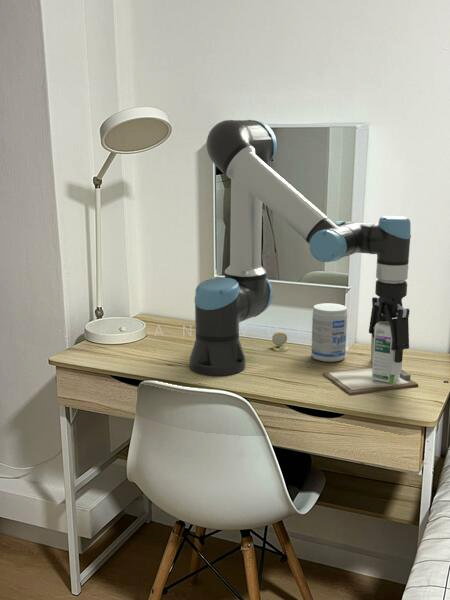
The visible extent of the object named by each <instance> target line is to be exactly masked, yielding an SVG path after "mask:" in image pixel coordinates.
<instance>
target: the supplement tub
mask: <svg viewBox="0 0 450 600" xmlns="http://www.w3.org/2000/svg"><path fill="white" fill-rule="evenodd" d="M347 322H348V309H347V306H346V305H344V304H340V303H332V302H331V303H329V302H328V303H327V302H326V303H324V302H322V303H318V304H317V303H316V304H315V305H314V306H313V309H312V322H311V323H312V325H311V326H312V327H311V351H310V352H311V357H312V358H313V359H315V360H317V361H320V362H327V363H328V362H329V363H330V362H332V363H335V362H339V361H342V360H344V359H345V357H346V350H347V349H346V347H347V346H346V345H347V343H346V341H347V329H348V327H347V326H348V323H347Z"/></svg>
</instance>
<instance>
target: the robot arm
mask: <svg viewBox="0 0 450 600" xmlns="http://www.w3.org/2000/svg"><path fill="white" fill-rule="evenodd" d="M277 147H278V145H277V137H276V134H275V132H274V130H273V129H272V128H271V127H270V126H269V125H268V124H266V123H264V122H262V121H259V120H255V119H253V120H252V119H245V120H243V119H240V120H239V119H238V120H237V119H236V120H234V119H226V120H222V121H220V122H218V123H217V124H215V125H214V126H213V127H212V128H211V130H210V131H209V132H208V135H207V138H206V152H207V154H208V157H209V158H210V161H211V162H212V163H213V164H214V165H215V167H216V168H217V169H219V170H220V172H222V174H224V175H225V176H226V177H228V179H230V181H231V182H230V235H229V236H230V239H229V240H230V241H229V242H230V243H229V244H230V247H229V248H230V249H229V252H230V253H229V255H230V257H229V266H228V267H227V268H225V269H224V277H215V278H209V279H206V280H204V281H201V282H200V283H198V285H196V288H195V293H194V295H195V296H194V308H195V310H194V312H195V313H194V314H195V315H194V318H195V320H194V321H195V340H194V344H193V347H192V349H191V353H190V355H189V369H190V370H191V371H193V372H194V373H197V374H201V375H205V376H206V375H207V376H228V375H233V374H235V375H236V374H238V373H240V372H242V371H243V370H245V368H246V357H245V354H244V350H243V347H242V344H241V341H240V323H241V322H244V321H247V320H248V319H251V318H255V317H257V316H259V315H261V314H262V313H264V312H265V311H266V310H267V309H268V308H269V307H270V305H271V304H272V301H273V297H274V290H273V285H272V284H271V282H270V281H269V279H268V278H267V270H266V269H265V268H264V267H263V266H262V231H263V230H262V229H263V224H262V223H263V204H264V205H265V206H266V207H267V208H268V209H270V210H271V211H272V213H274V214H275V215H276V216H277V217H279V219H281V221H283V222H284V223H285V224H286V225H288V227H289V228H291V230H292V231H294V232H296V234H297V235H299V236H300V237H301V239H303V240H305V242H307V244H308V245H309V247H308V248H309V250H310V254H311V255H312V257H313V258H314V259H316V260H317V261H319V262H321V263H330V262H337V261H339V260H341V259H342V258H345V257H348V256H351V255H354V254H356V253H357V254H369V255H377V256H376V258H377V259H376V272H375V278H376V279H377V280H375V295H376V296H374V297H372V299H371V302H372V303H371V306H372V307H371V313H370V314H371V315H370V318H369V319H370V321H369V328H368V333H369V334H370V335H371V338H372V337H373V338H374V331H375V325H376V324H377V323H378V322H379V321H388V322H389V323H390V328H391V334H392V341H393V347H394V348H391V362H390V374H391V375H395V374H401V369H402V366H403V365H402V364H403V355H404V354H403V353H404V350H408V349H410V335H409V334H410V333H409V332H410V330H409V329H410V328H409V317H410V308H404V307H403V302H402V301H403V298H405V297H406V296H407V293H408V282H407V279H408V277H409V275H408V273H409V261H410V260H409V258H410V246H411V238H412V235H411V231H412V230H411V220H410V218H409V217H406V216H403V215H402V216H401V215H383V216H380V218H379V219H378V223H377V222H376V223H371V222H370V223H369V222H361V221H352V220H337V221H336V222H333V221H332V220H331V219H330V218H328V216H326V215H325V214H324V213H323V212H322V211H321V210H320V209H319V208H318V207H316V206H315V205H314V204H313V203H312V202H311V201H309V200H308V199H307V198H306V197H305V196H304V195H303V194H301V193H300V192H299V191H298V190H297V189H296V188H294V186H292V184H290V183H289V182H288V181H286V180H285V179H284V178H283V177H282V176H280V174H278V173H277V172H276V171H275V170H274V169H273V168H272V167H271V166H270V162H271V160H272V159H273V158H274V157H275V155H276V152H277ZM373 328H374V329H373ZM373 343H374V342H373ZM397 344H398V345H397ZM373 352H374V344H373Z"/></svg>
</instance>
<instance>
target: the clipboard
mask: <svg viewBox="0 0 450 600" xmlns="http://www.w3.org/2000/svg"><path fill="white" fill-rule="evenodd" d="M372 369H373V366H368V367H359V368H358V367H357V368H353V369H352V368H351V369H343V370H342V369H341V370H332V371H324V372H323V373H322V375H323V376H324V377H326V378H327V379H329V380H330V381H331V382H332V383H333V384H335V385H336V386H337V387H339V389H341V390H342V391H344V392H345V393H347V394H348V395H349V396H351V395H352V396H353V395H361V394H369V393H376V392H382V391H383V392H384V391H393V390H400V389H409V388H416V387H419V383H418V382H416V381H414V380H412V379H411V375H412V374H410V373H408V372H406V371H404V370H403V368H401V374H400V377H399V378H398V379H397V380H396V381H395V382H394V383H388V382H384V381H379V380H372Z"/></svg>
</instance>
